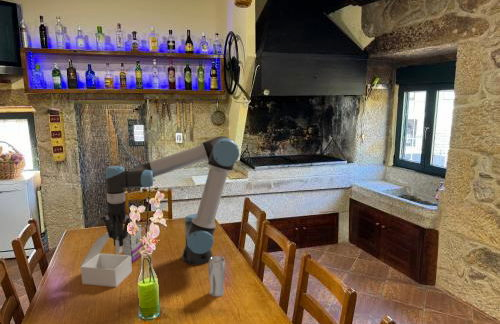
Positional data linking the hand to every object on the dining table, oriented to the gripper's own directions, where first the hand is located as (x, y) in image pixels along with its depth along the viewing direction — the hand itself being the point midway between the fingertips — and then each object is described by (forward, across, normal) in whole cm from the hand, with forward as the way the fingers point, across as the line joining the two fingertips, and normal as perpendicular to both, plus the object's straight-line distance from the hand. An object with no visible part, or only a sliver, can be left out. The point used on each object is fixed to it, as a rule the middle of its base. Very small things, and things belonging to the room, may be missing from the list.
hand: (119, 252), depth 155 cm
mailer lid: (-2, -10, 0) cm, 10 cm away
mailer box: (+13, -6, 0) cm, 14 cm away
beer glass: (+13, +46, -4) cm, 48 cm away
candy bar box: (+13, -4, +20) cm, 24 cm away
